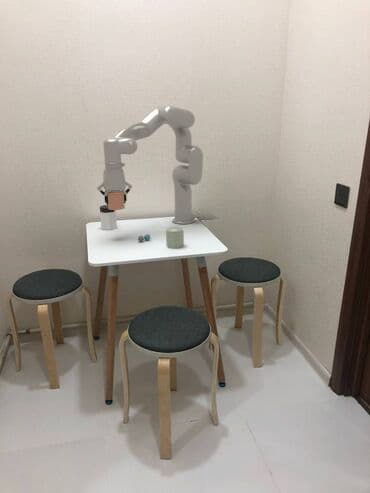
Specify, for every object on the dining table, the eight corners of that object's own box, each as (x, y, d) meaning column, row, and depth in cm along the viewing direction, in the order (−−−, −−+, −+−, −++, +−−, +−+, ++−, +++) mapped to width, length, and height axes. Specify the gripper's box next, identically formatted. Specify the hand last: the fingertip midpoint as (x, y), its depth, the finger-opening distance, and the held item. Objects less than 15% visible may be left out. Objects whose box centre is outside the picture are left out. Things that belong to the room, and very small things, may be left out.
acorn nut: (180, 242, 188) (180, 226, 185) (185, 247, 181) (184, 230, 178) (165, 244, 186) (164, 227, 183) (169, 249, 179) (168, 232, 176)
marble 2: (151, 240, 192) (149, 237, 194) (150, 235, 190) (149, 232, 192) (145, 242, 191) (143, 238, 193) (144, 236, 189) (143, 233, 191)
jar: (111, 224, 219) (109, 203, 216) (120, 227, 214) (118, 206, 210) (97, 228, 213) (95, 206, 209) (106, 231, 208) (105, 208, 204)
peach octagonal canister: (123, 205, 195) (121, 189, 192) (125, 209, 188) (124, 192, 185) (107, 207, 192) (106, 190, 190) (109, 210, 186) (108, 193, 183)
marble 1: (145, 241, 190) (143, 238, 192) (144, 236, 188) (141, 233, 190) (140, 243, 189) (137, 240, 191) (138, 239, 187) (136, 235, 189)
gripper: (130, 164, 189) (132, 200, 195) (93, 166, 185) (96, 203, 190) (133, 166, 183) (135, 203, 188) (95, 168, 178) (98, 206, 184)
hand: (115, 203), depth 189 cm, fingers closed on peach octagonal canister, 7 cm apart
